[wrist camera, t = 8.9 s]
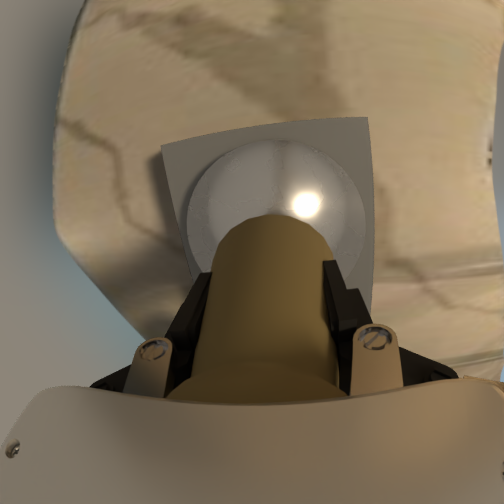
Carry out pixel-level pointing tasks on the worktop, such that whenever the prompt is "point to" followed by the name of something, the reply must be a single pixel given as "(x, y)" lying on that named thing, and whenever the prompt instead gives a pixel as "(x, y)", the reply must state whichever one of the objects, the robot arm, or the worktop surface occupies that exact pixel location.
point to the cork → (265, 319)
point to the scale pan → (277, 198)
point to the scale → (305, 131)
